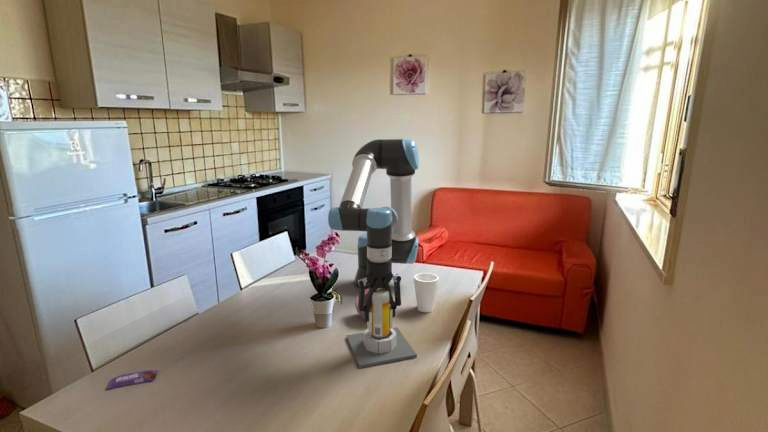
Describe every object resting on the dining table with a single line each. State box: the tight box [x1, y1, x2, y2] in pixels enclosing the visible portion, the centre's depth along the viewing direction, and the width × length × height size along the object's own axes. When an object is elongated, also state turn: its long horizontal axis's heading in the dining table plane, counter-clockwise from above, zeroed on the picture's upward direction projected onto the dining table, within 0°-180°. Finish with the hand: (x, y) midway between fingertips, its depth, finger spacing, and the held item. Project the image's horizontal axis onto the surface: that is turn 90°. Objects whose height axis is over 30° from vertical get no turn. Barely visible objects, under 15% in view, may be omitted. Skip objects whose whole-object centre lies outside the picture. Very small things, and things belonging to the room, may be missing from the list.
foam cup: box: [413, 272, 440, 313], centre depth 154 cm, size 10×9×13 cm
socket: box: [346, 326, 418, 369], centre depth 128 cm, size 18×18×5 cm
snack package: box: [106, 369, 158, 390], centre depth 112 cm, size 12×2×5 cm
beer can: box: [370, 288, 390, 338], centre depth 126 cm, size 6×6×15 cm
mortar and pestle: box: [354, 288, 369, 319], centre depth 147 cm, size 12×12×12 cm
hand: (379, 328), depth 127 cm, fingers closed on beer can, 6 cm apart
